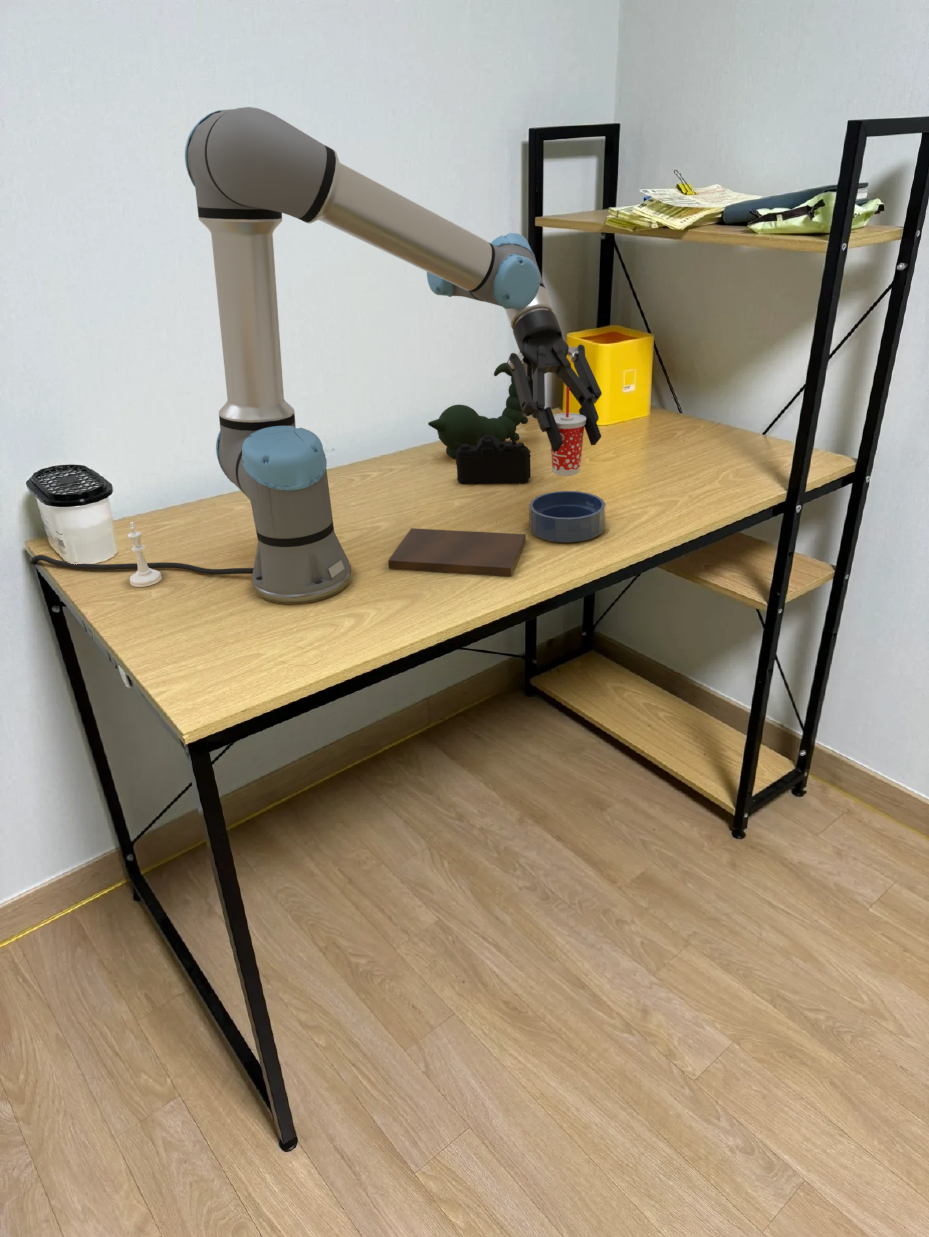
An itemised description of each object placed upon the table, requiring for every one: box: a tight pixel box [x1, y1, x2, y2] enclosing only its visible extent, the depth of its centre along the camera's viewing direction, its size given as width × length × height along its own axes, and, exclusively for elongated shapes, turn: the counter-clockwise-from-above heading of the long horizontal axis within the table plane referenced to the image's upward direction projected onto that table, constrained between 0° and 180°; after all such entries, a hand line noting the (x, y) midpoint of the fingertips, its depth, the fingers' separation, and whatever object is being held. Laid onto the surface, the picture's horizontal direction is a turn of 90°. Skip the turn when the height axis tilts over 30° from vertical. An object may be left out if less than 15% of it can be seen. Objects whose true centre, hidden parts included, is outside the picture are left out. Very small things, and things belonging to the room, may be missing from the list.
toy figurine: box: [427, 362, 531, 460], centre depth 184 cm, size 9×19×25 cm
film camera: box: [454, 435, 532, 485], centre depth 173 cm, size 15×10×9 cm, turn 84°
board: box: [387, 527, 527, 577], centre depth 143 cm, size 20×13×2 cm, turn 77°
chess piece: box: [127, 521, 163, 588], centre depth 138 cm, size 5×5×10 cm
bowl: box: [528, 490, 607, 543], centre depth 149 cm, size 13×13×4 cm
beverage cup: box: [550, 386, 586, 477], centre depth 142 cm, size 6×6×14 cm
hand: (577, 444), depth 140 cm, fingers closed on beverage cup, 6 cm apart
